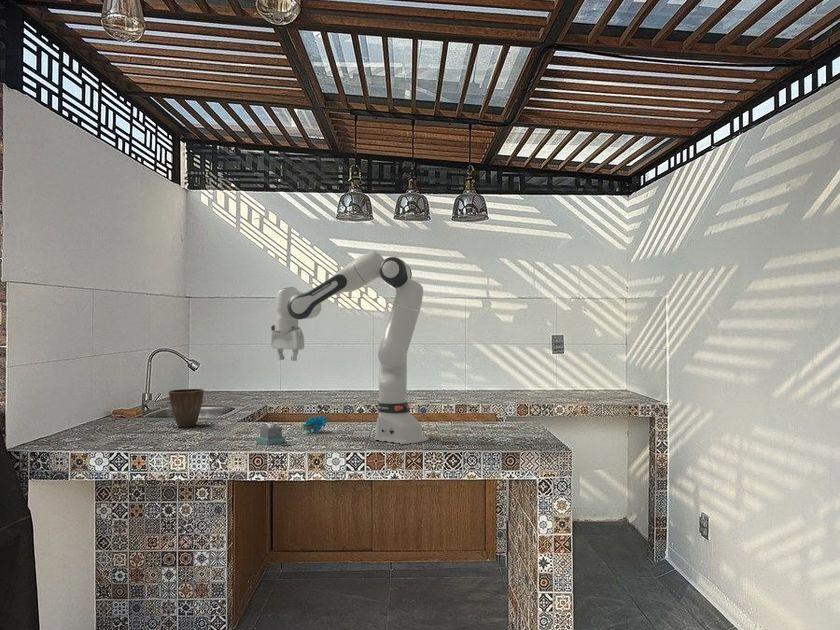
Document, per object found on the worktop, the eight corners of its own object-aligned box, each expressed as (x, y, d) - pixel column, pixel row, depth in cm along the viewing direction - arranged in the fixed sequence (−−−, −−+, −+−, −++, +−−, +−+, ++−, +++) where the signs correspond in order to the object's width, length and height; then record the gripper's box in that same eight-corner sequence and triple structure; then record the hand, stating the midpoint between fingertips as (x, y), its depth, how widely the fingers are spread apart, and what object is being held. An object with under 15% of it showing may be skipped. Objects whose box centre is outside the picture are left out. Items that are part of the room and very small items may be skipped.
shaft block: (285, 442, 251) (285, 424, 251) (266, 445, 246) (266, 426, 246) (274, 439, 257) (274, 421, 257) (256, 442, 252) (256, 424, 252)
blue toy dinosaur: (325, 426, 280) (327, 412, 273) (329, 437, 276) (331, 423, 269) (300, 431, 275) (301, 417, 269) (303, 442, 272) (305, 428, 265)
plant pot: (161, 428, 287) (161, 391, 287) (181, 422, 301) (181, 388, 301) (191, 429, 283) (191, 392, 283) (210, 423, 298) (210, 389, 298)
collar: (281, 437, 251) (281, 426, 252) (268, 439, 247) (268, 428, 247) (273, 435, 256) (273, 424, 256) (260, 437, 252) (260, 426, 252)
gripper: (307, 326, 263) (308, 360, 263) (281, 326, 278) (281, 359, 278) (294, 326, 259) (294, 361, 258) (268, 326, 274) (268, 359, 273)
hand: (287, 360), depth 268 cm, fingers open, 8 cm apart
